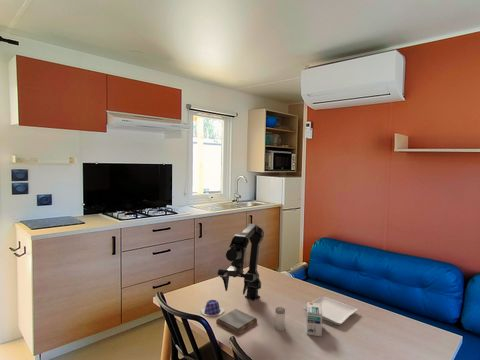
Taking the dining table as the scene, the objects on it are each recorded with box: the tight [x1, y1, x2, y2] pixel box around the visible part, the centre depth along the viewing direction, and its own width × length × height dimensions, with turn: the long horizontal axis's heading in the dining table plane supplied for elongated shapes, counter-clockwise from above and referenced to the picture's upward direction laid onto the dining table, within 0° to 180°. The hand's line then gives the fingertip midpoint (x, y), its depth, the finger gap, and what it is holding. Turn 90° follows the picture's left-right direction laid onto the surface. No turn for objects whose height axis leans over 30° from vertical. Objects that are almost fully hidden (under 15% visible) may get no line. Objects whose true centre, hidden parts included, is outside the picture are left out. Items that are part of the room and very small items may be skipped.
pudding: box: [200, 299, 225, 317], centre depth 160 cm, size 12×12×5 cm
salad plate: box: [302, 295, 359, 326], centre depth 161 cm, size 21×21×3 cm
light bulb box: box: [306, 301, 323, 337], centre depth 145 cm, size 11×7×11 cm, turn 168°
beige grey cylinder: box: [274, 306, 286, 331], centre depth 146 cm, size 4×4×9 cm
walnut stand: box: [215, 308, 258, 336], centre depth 149 cm, size 14×14×2 cm
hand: (234, 292), depth 151 cm, fingers open, 9 cm apart
